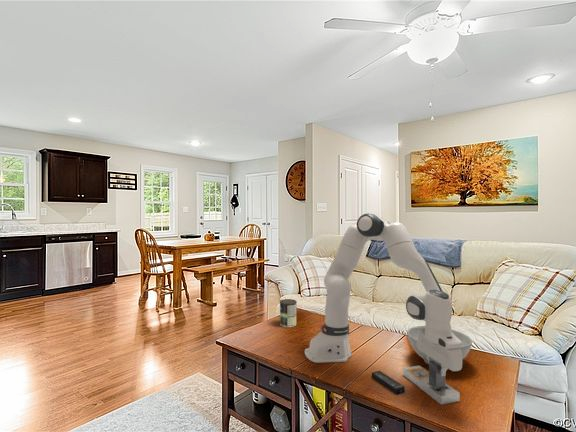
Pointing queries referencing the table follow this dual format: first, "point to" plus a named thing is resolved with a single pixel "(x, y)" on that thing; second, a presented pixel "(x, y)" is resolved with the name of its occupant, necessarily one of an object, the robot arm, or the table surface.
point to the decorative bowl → (462, 337)
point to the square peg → (435, 374)
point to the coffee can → (288, 312)
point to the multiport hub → (388, 382)
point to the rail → (422, 381)
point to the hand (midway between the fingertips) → (437, 371)
